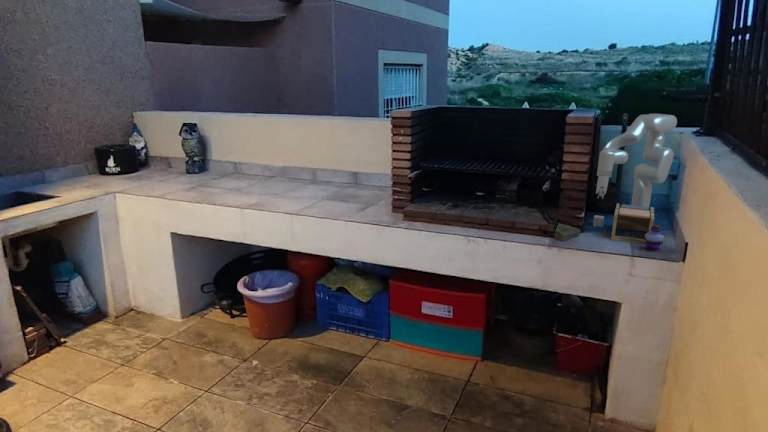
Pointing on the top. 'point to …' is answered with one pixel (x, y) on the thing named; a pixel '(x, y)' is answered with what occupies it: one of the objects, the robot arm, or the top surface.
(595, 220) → the cube
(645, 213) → the trapdoor
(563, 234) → the marble piece
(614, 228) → the frame
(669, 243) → the top surface
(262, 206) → the top surface
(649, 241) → the potion bottle
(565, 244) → the top surface
